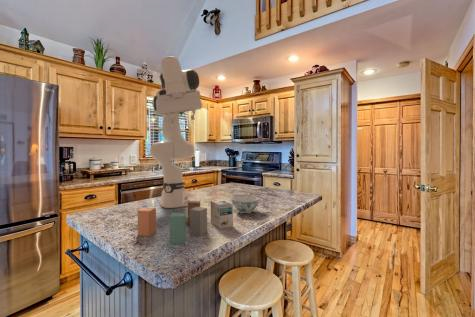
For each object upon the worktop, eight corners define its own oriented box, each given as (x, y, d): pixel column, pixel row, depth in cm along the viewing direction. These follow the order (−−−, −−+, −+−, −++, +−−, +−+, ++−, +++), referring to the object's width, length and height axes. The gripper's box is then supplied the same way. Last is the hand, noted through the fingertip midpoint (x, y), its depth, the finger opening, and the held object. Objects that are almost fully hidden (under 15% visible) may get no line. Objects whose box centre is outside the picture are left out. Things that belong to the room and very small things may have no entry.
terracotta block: (145, 230, 99) (145, 207, 98) (156, 231, 98) (155, 208, 97) (137, 235, 94) (137, 210, 94) (148, 236, 93) (148, 211, 92)
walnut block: (189, 221, 112) (189, 200, 111) (200, 221, 112) (200, 200, 111) (187, 225, 107) (187, 203, 106) (198, 224, 107) (198, 203, 106)
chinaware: (244, 217, 118) (244, 202, 117) (226, 211, 129) (226, 197, 129) (265, 212, 127) (265, 198, 127) (246, 207, 139) (246, 194, 138)
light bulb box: (233, 227, 104) (233, 202, 104) (219, 229, 101) (219, 204, 100) (223, 220, 113) (222, 198, 113) (210, 222, 110) (209, 199, 109)
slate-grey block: (197, 229, 100) (196, 206, 100) (207, 231, 98) (206, 207, 98) (190, 233, 95) (189, 209, 95) (200, 235, 93) (200, 210, 93)
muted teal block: (172, 238, 90) (172, 212, 90) (185, 238, 91) (185, 212, 90) (169, 243, 85) (169, 216, 85) (183, 243, 86) (183, 216, 85)
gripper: (198, 91, 112) (204, 119, 112) (154, 97, 108) (160, 126, 108) (199, 86, 106) (205, 116, 106) (152, 93, 102) (159, 124, 101)
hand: (182, 121), depth 107 cm, fingers open, 8 cm apart
